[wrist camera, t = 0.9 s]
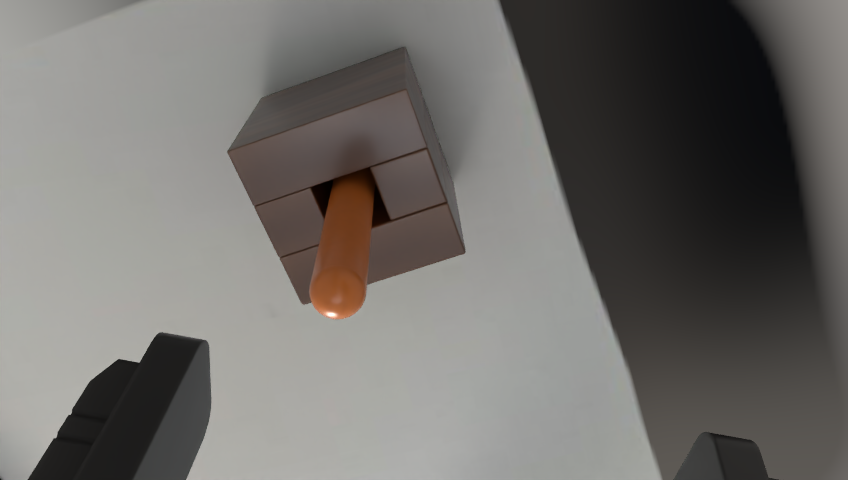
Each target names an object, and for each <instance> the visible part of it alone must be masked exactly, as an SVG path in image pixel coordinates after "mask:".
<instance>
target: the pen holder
mask: <svg viewBox="0 0 848 480" xmlns="http://www.w3.org/2000/svg"><path fill="white" fill-rule="evenodd" d="M227 152H228V154H229V157H230V159H231V161H232V163H233V165H234V167H235V169H236V171H237V173H238V175H239V177H240V179H241V181H242V183H243V185H244V187H245V189H246V191H247V193H248V195H249V197H250V199H251V202H252V204H253V205H254V206H255V209H256V212H257V214H258V216H259V218H260V220H261V222H262V224H263V226H264V228H265V230H266V232H267V234H268V236H269V238H270V240H271V242H272V244H273V246H274V248H275V250H276V252H277V254H278V256H279V257H280V260H281V262H282V264H283V266H284V268H285V270H286V272H287V274H288V277H289V279H290V281H291V283H292V285H293V287H294V289H295V291H296V293H297V295H298V297H299V299H300V301H301V303H302V304H303V305H305V304H308V303H311V299H310V293H309V289H310V283H311V279H312V274H313V270H314V265H315V261H316V256H317V252H318V247H319V243H320V238H321V234H322V229H323V225H324V220H325V216H326V211H327V207H328V202H329V198H330V193H331V189H332V184H333V180H334V179H335V178H338V177H341V176H344V175H347V174H350V173H353V172H356V171H359V170H362V169H365V168H368V167H370V171H371V173H372V176H373V178H374V181H375V191H374V204H373V216H372V228H371V240H370V253H369V265H368V277H367V284H371V283H374V282H377V281H380V280H383V279H386V278H389V277H392V276H396V275H399V274H402V273H405V272H408V271H411V270H414V269H418V268H421V267H424V266H427V265H430V264H433V263H436V262H439V261H443V260H446V259H449V258H452V257H455V256H458V255H461V254H464V253H465V245H464V240H463V234H462V228H461V223H460V217H459V211H458V206H457V200H456V195H455V189H454V183H453V181H452V178H451V175H450V172H449V169H448V166H447V164H446V161H445V158H444V155H443V152H442V149H441V146H440V144H439V142H438V138H437V135H436V132H435V129H434V127H433V124H432V121H431V118H430V115H429V112H428V110H427V107H426V104H425V101H424V98H423V97H422V92H421V90H420V87H419V84H418V81H417V78H416V75H415V72H414V70H413V67H412V64H411V61H410V58H409V55H408V53H407V50H406V48H405V47H403V48H400V49H397V50H395V51H392V52H389V53H386V54H383V55H381V56H378V57H375V58H372V59H369V60H367V61H364V62H361V63H358V64H355V65H353V66H350V67H347V68H344V69H341V70H339V71H336V72H333V73H330V74H327V75H325V76H322V77H319V78H316V79H313V80H311V81H308V82H305V83H302V84H299V85H297V86H294V87H291V88H288V89H285V90H283V91H280V92H277V93H274V94H271V95H269V96H266V97H263V98H261V99H260V101H259V103H258V104H257V106H256V107H255V109H254V110H253V112H252V114H251V115H250V117H249V118H248V120H247V121H246V123H245V125H244V126H243V128H242V129H241V131H240V132H239V134H238V135H237V137H236V139H235V140H234V142H233V143H232V145H231V146H230V148H229V150H228V151H227Z"/></svg>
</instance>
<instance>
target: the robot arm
mask: <svg viewBox="0 0 848 480" xmlns="http://www.w3.org/2000/svg"><path fill="white" fill-rule="evenodd" d="M210 411H211V383H210V358H209V345H208V342H207V341H206V340H202V339H196V338H190V337H185V336H179V335H174V334H168V333H163V332H161V333H158V334H157V335H156V336H155V338H154V339H153V341H152V342H151V344H150V346H149V347H148V349H147V351H146V353H145V354H144V356H143V358H142V360H141V361H140V363H138V362H132V361H127V360H121V359H118V360H117V361H115V362H114V363H113V364H112V365H110V366H109V367H108V368H106V369H105V370H104V371H103V372H101V373H100V374H99V375H97V376H96V377H95V378H94V379H92V380H91V381H90V382H89V384H88V385H87V387H86V388H85V390H84V392H83V393H82V395H81V396H80V398H79V399H78V401H77V403H76V404H75V406H74V407H73V409H72V414H71V415H68V417H67V418H66V420H65V422H64V423H63V425H62V426H61V428H60V430H59V431H58V435H57V438H56V439H55V438H54V439H53V441H52V442H51V444H50V445H49V447H48V449H47V450H46V452H45V453H44V455H43V456H42V458H41V460H40V461H39V463H38V464H37V466H36V468H35V469H34V471H33V472H32V474H31V475H30V477H29V479H28V480H186V478H187V476H188V474H189V471H190V469H191V467H192V464H193V462H194V460H195V457H196V455H197V453H198V450H199V448H200V446H201V443H202V441H203V439H204V436H205V433H206V429H207V426H208V422H209V417H210ZM674 480H777V479H772V478H768V475H767V472H766V468H765V465H764V462H763V459H762V456H761V453H760V450H759V448H758V446H757V445H756V444H755V443H754V442H753V441H751V440H747V439H742V438H736V437H731V436H724V435H719V434H713V433H708V432H704V433H702V434H701V435H700V436H699V437H698V438H697V440H696V442H695V443H694V445H693V447H692V449H691V450H690V452H689V454H688V456H687V457H686V459H685V461H684V463H683V464H682V466H681V468H680V470H679V471H678V473H677V475H676V476H675V478H674Z"/></svg>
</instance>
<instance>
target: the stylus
mask: <svg viewBox="0 0 848 480" xmlns="http://www.w3.org/2000/svg"><path fill="white" fill-rule="evenodd" d="M374 191H375V181H374V178H373V176H372V173H371V171H370V167H368V168H365V169H362V170H359V171H356V172H353V173H350V174H347V175H344V176H341V177H338V178H335V179H334V180H333V184H332V189H331V193H330V198H329V202H328V207H327V211H326V216H325V220H324V225H323V229H322V234H321V238H320V243H319V247H318V252H317V256H316V261H315V265H314V270H313V274H312V279H311V283H310V289H309V293H310V299H311V302H312V304H313V306H314V307H315V309H316V310H317V311H318V312H319V313H321V314H322V315H324V316H326V317H328V318H332V319H344V318H347V317H350V316H352V315H353V314H355V313H356V312H357V311H358V310H359V309H360V308H361V306H362V305H363V303H364V301H365V297H366V289H367V277H368V265H369V253H370V240H371V228H372V216H373V204H374Z"/></svg>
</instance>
